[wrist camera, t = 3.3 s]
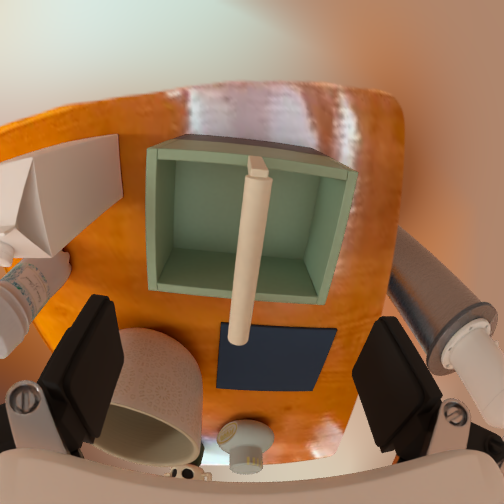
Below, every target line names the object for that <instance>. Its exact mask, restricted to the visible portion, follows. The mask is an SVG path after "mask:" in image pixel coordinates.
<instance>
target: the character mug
mask: <svg viewBox="0 0 504 504" xmlns="http://www.w3.org/2000/svg"><path fill="white" fill-rule="evenodd" d="M203 453H204V446H203V445H202V444H201V446H200V454H199V456H198V457H197V458H196V459H195V460H194V461H193V462H191V463H188V464H185V465H182V466H176V467H171V469H170V473H165V474H164V476H167V477H175V478H183V479H192V480H203V481H204V477H205V476H207V481H212V474H211V473H209V472H207V473H204V470H203V469H202V468H200V467H199V466H200V464H201V461H202V457H203Z"/></svg>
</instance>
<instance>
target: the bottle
mask: <svg viewBox="0 0 504 504" xmlns="http://www.w3.org/2000/svg"><path fill="white" fill-rule="evenodd" d="M69 259H70V255H69V253H68V252H63V251H62V250H60V251H59V252H58V253H57V254H56V255H55V256H54V257H52V258H23V259H22V260H21V261H20V262H19V263H18V264H17V265H16V266H15V267H13V268H12V269H11V270H10V271H9V272H8V273H7V274H6V275H5V276H4V277H3V278H2V279H1V280H0V359H3V358H6V357H7V356H8V355H9V354H10V353H11V352H12V351H13V350H14V349H15V348H16V346H18V345H19V344H20V343H21V342H22V341H23V339H24V336H25V335H26V334H27V333H28V331H29V325H30V323H31V322H32V321H33V320H34V318H35V317H36V316H37V314H38V313H39V312H40V310H41V309H42V308H43V307H44V305H45V304H46V303H47V302H48V300H49V299H50V298H51V297H52V296H53V295H54V294H55V293H56V292H57V291H58V290H59V289H60V288H61V287H62V286H63V285H64V283H65V282H66V280H67V279H68V277H69V275H70V273H71V269H72V267H71V265H70V264H69Z"/></svg>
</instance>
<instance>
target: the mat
mask: <svg viewBox="0 0 504 504" xmlns="http://www.w3.org/2000/svg"><path fill="white" fill-rule="evenodd" d="M228 329H229V323H224V322H221V331H220V344H219V357H218V371H217V386H216V388H221V389H235V390H254V391H313V388H314V386H315V384H316V382H317V379H318V377H319V374H320V372H321V370H322V367H323V365H324V362H325V360H326V358H327V355H328V353H329V350H330V348H331V345H332V342H333V340H334V337H335V335H336V332H337V329H336V328H303V327H281V326H264V325H251V326H250V332H249V338H248V342H247V343H246V344H244V345H240V346H238V345H234V344H232V343H230V342H229V340H228Z"/></svg>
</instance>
